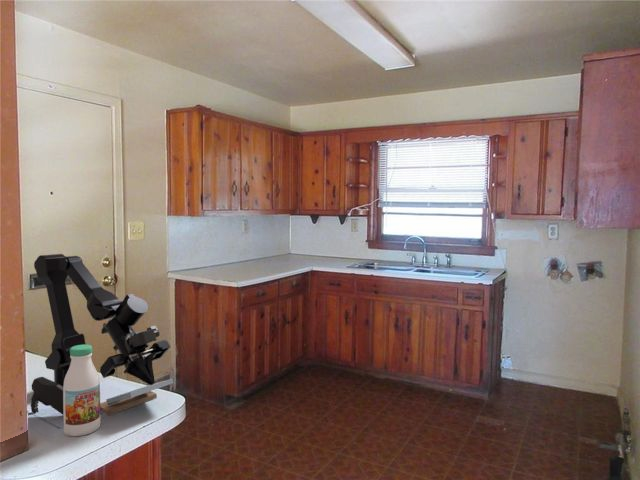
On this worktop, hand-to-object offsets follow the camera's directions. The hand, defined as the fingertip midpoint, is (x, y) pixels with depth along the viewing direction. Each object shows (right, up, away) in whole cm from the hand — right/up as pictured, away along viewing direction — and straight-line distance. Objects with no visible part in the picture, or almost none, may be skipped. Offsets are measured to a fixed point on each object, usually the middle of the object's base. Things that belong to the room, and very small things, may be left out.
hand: (152, 383), depth 117 cm
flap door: (-8, -5, +4) cm, 10 cm away
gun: (-23, -7, -3) cm, 24 cm away
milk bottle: (-13, -8, -10) cm, 18 cm away
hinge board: (-9, -7, +5) cm, 12 cm away
